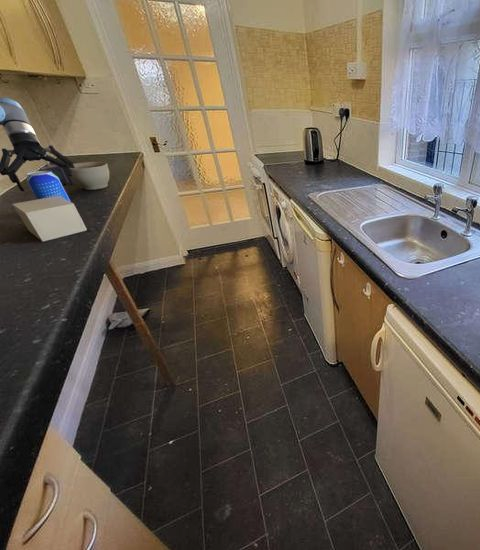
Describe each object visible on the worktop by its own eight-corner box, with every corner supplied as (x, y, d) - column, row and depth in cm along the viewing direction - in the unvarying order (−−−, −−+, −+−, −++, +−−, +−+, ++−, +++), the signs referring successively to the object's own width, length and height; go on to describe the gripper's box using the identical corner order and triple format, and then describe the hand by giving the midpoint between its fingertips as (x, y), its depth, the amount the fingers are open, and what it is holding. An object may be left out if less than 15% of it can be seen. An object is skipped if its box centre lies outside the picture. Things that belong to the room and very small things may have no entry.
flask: (52, 187, 147) (40, 164, 141) (47, 187, 147) (34, 164, 141) (70, 182, 154) (59, 161, 149) (65, 182, 155) (54, 161, 149)
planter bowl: (72, 193, 138) (60, 169, 133) (78, 186, 150) (67, 163, 144) (114, 189, 146) (104, 166, 140) (117, 182, 157) (108, 160, 152)
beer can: (49, 220, 110) (23, 176, 101) (46, 215, 114) (21, 172, 106) (78, 215, 115) (56, 172, 106) (74, 210, 120) (53, 169, 111)
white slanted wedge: (29, 231, 101) (12, 203, 96) (71, 221, 109) (58, 195, 104) (42, 241, 94) (25, 213, 89) (87, 230, 103) (73, 203, 98)
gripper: (69, 142, 122) (92, 185, 121) (-21, 148, 107) (3, 198, 106) (64, 129, 116) (87, 175, 115) (-33, 133, 101) (-7, 186, 100)
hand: (47, 186), depth 110 cm, fingers open, 13 cm apart
